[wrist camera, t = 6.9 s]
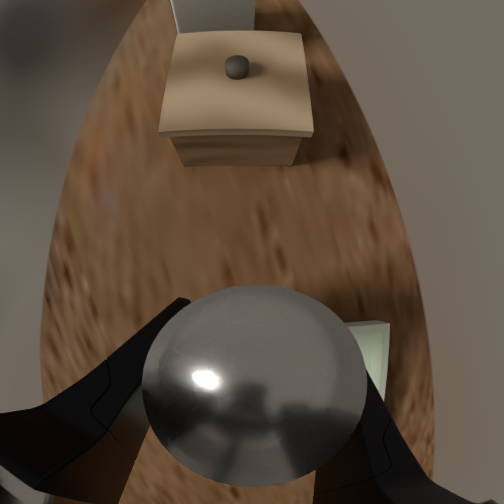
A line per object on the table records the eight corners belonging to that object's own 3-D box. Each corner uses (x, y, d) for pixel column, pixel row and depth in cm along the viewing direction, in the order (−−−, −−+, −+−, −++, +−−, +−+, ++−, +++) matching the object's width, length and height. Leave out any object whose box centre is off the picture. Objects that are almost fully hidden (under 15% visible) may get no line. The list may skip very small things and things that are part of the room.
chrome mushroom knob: (286, 378, 17) (340, 486, 6) (199, 368, 16) (141, 468, 6) (298, 293, 17) (382, 297, 6) (209, 282, 17) (153, 268, 6)
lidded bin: (296, 170, 24) (317, 123, 16) (179, 170, 24) (154, 124, 16) (290, 81, 25) (302, 25, 17) (189, 81, 25) (175, 25, 17)
